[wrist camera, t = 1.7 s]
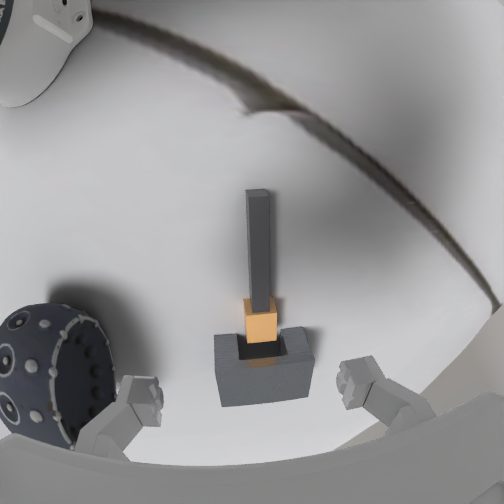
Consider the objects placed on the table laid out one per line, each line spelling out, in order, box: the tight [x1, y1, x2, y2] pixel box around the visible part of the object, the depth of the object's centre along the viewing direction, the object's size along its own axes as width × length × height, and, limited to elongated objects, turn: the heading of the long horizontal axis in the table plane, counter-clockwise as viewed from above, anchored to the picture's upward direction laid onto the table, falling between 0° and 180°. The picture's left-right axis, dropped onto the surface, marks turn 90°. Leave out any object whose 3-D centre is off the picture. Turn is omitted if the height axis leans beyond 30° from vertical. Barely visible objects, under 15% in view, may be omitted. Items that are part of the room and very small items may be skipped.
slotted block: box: [214, 327, 315, 407], centre depth 37 cm, size 8×12×6 cm, turn 92°
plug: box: [243, 189, 277, 343], centre depth 32 cm, size 18×4×3 cm, turn 2°
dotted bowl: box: [0, 303, 117, 451], centre depth 26 cm, size 11×20×20 cm, turn 179°
